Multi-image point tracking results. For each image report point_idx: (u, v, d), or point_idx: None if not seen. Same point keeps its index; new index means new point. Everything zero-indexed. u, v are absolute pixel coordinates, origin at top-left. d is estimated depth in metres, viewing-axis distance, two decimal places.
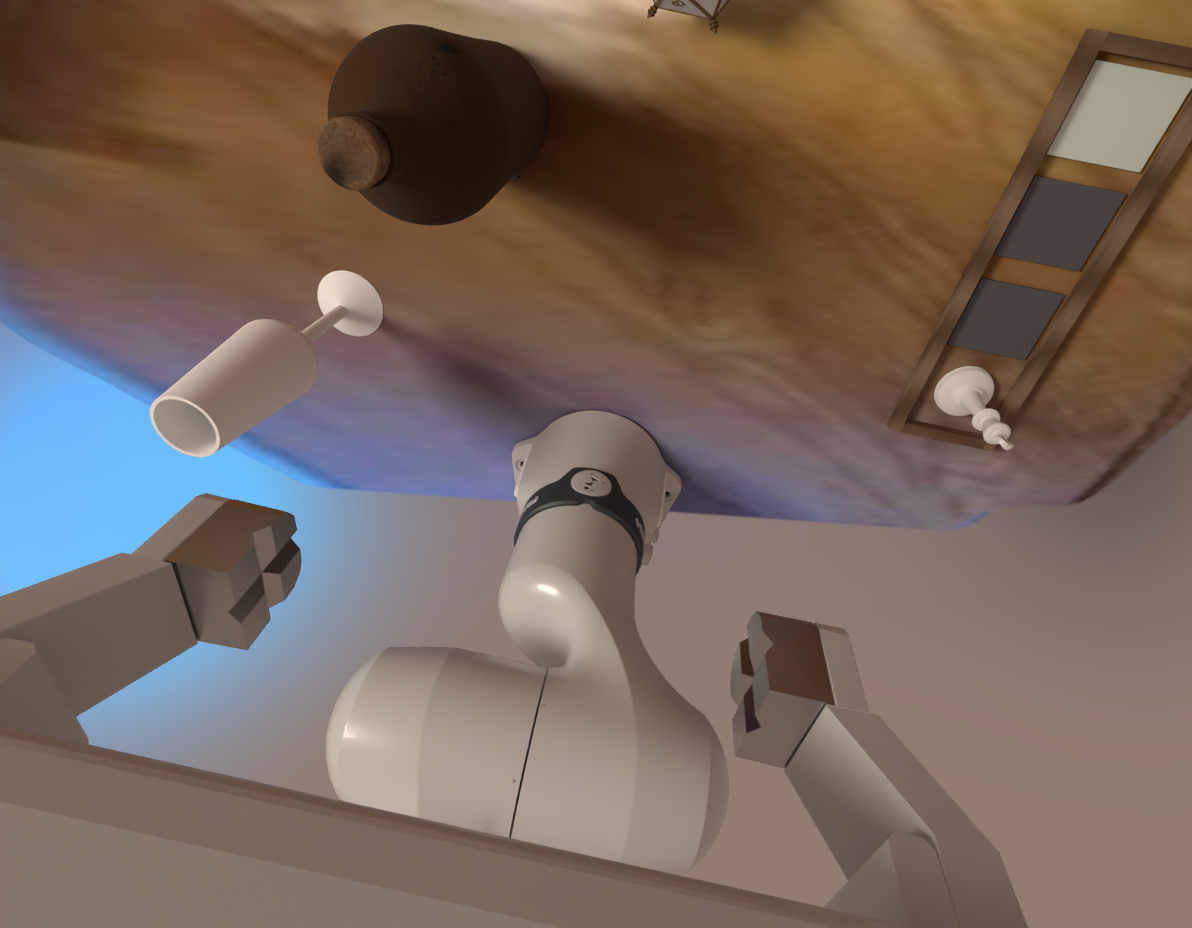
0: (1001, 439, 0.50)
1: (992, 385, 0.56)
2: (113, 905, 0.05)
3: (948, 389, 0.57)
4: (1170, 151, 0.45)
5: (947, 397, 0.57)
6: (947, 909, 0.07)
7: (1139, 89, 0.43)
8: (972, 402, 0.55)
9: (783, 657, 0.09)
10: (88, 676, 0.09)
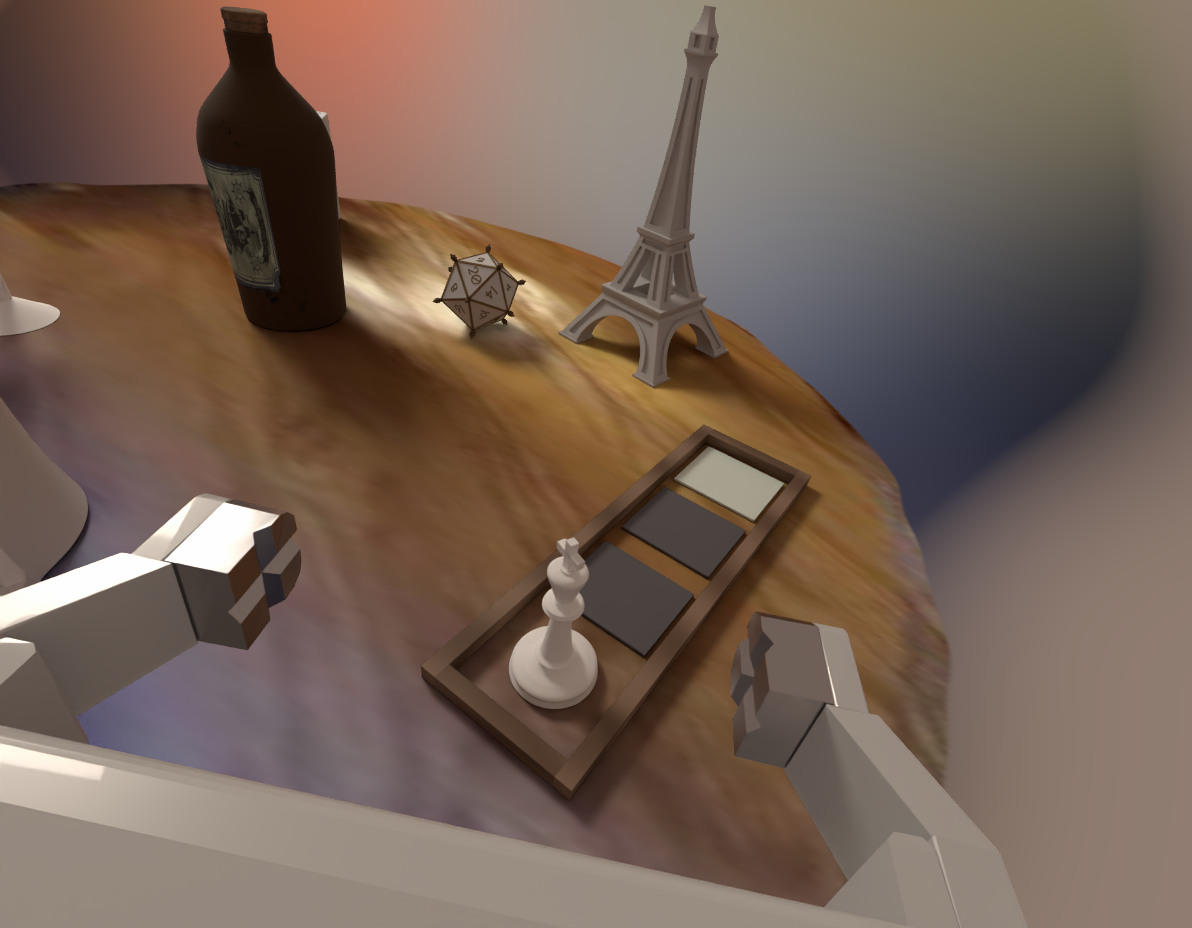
0: None
1: (594, 662, 0.34)
2: (113, 905, 0.05)
3: (532, 637, 0.35)
4: (774, 505, 0.47)
5: (527, 648, 0.34)
6: (947, 909, 0.07)
7: (742, 471, 0.51)
8: None
9: (783, 657, 0.09)
10: (88, 676, 0.09)
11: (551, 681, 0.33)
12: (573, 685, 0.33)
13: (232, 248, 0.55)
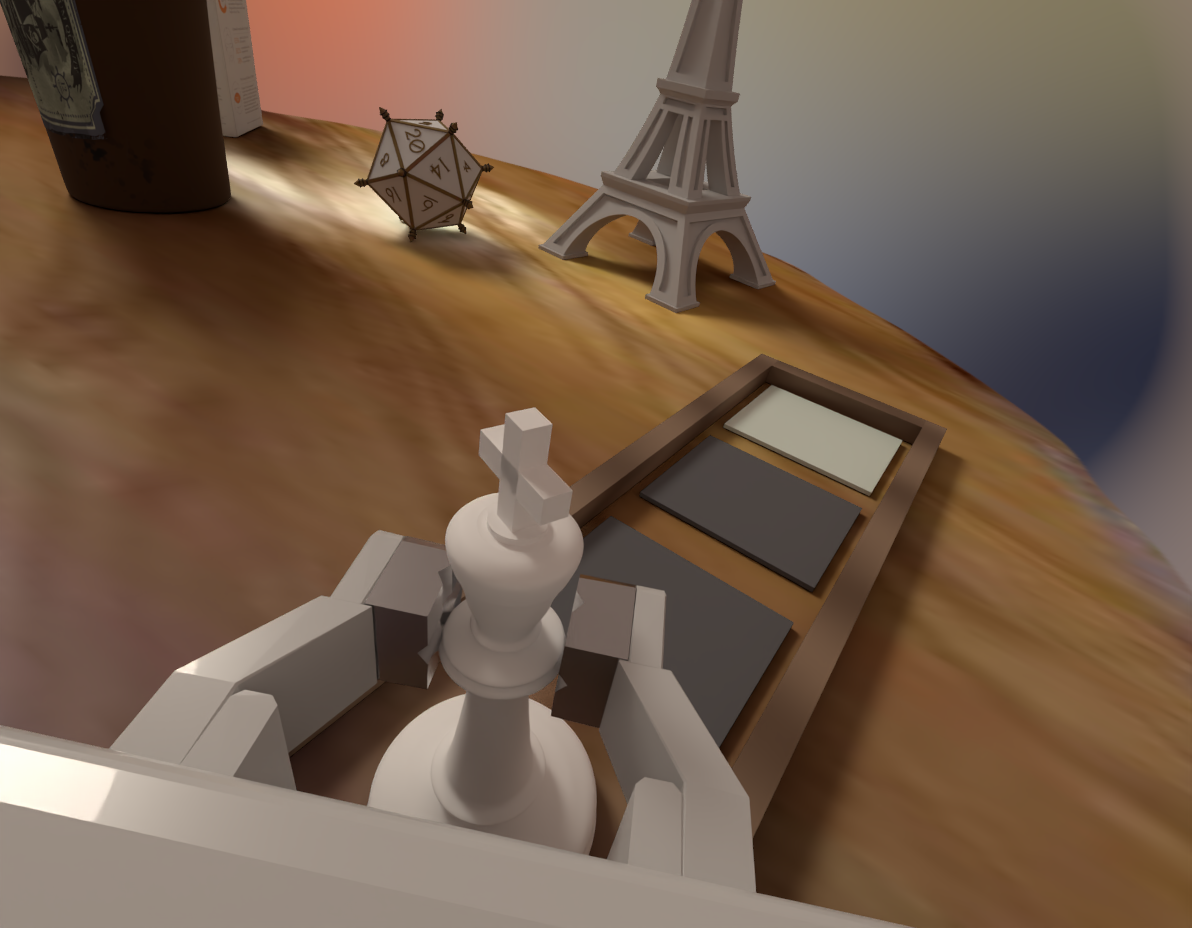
0: None
1: (589, 792, 0.13)
2: (113, 905, 0.05)
3: (434, 723, 0.14)
4: (904, 468, 0.27)
5: (416, 755, 0.13)
6: (675, 849, 0.07)
7: (832, 421, 0.31)
8: None
9: (589, 616, 0.09)
10: (293, 721, 0.09)
11: None
12: None
13: (26, 63, 0.35)
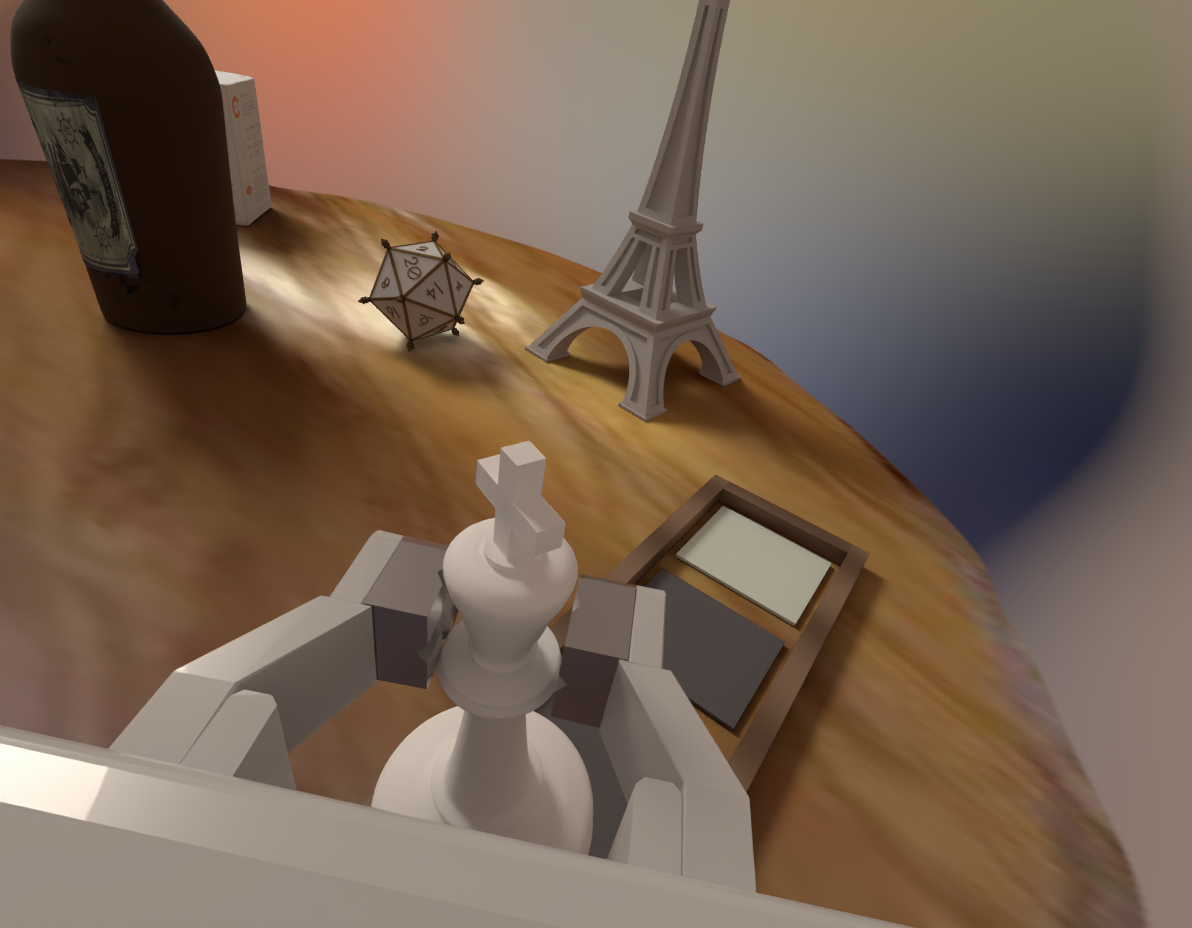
0: None
1: (586, 802, 0.14)
2: (113, 905, 0.05)
3: (435, 733, 0.14)
4: (824, 602, 0.31)
5: (417, 765, 0.13)
6: (675, 849, 0.07)
7: (772, 545, 0.36)
8: None
9: (589, 616, 0.09)
10: (293, 721, 0.09)
11: None
12: None
13: (70, 215, 0.40)
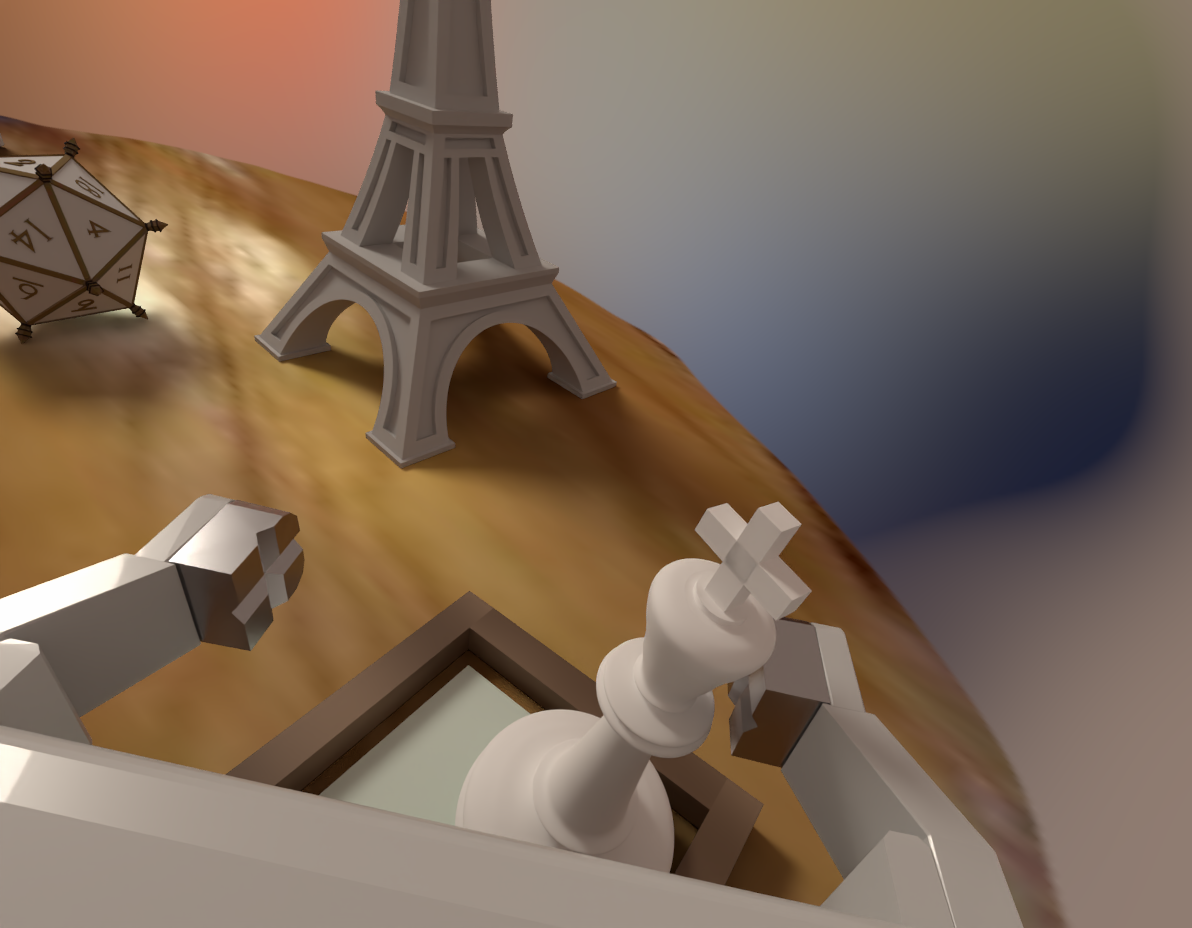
0: (743, 525, 0.09)
1: (668, 821, 0.14)
2: (113, 905, 0.05)
3: (523, 741, 0.14)
4: None
5: (509, 773, 0.13)
6: (942, 908, 0.07)
7: None
8: None
9: (780, 656, 0.09)
10: (92, 677, 0.09)
11: None
12: None
13: None
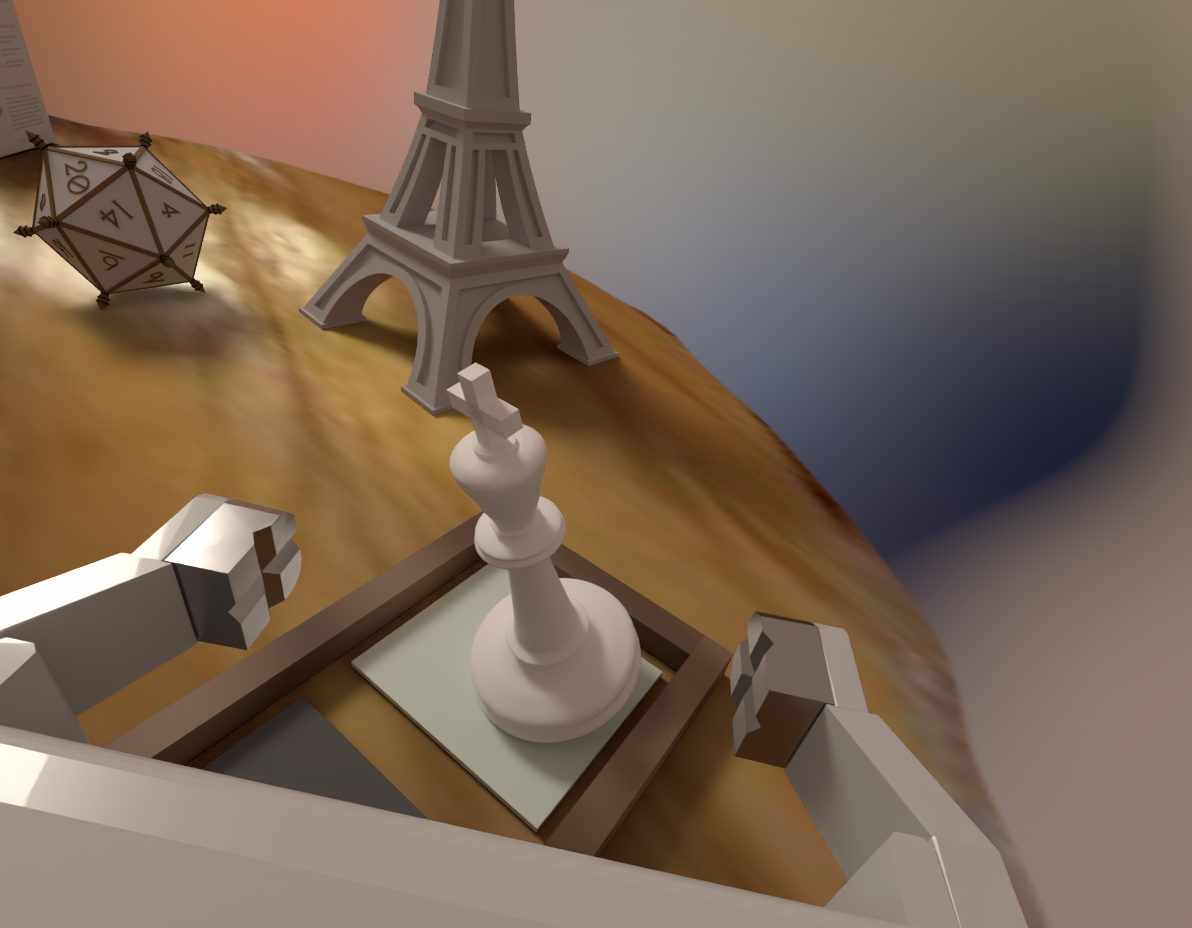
0: None
1: (627, 624, 0.18)
2: (113, 905, 0.05)
3: (500, 614, 0.18)
4: (604, 778, 0.15)
5: (494, 638, 0.18)
6: (947, 909, 0.07)
7: None
8: None
9: (783, 657, 0.09)
10: (88, 676, 0.09)
11: (553, 688, 0.16)
12: (599, 681, 0.16)
13: None
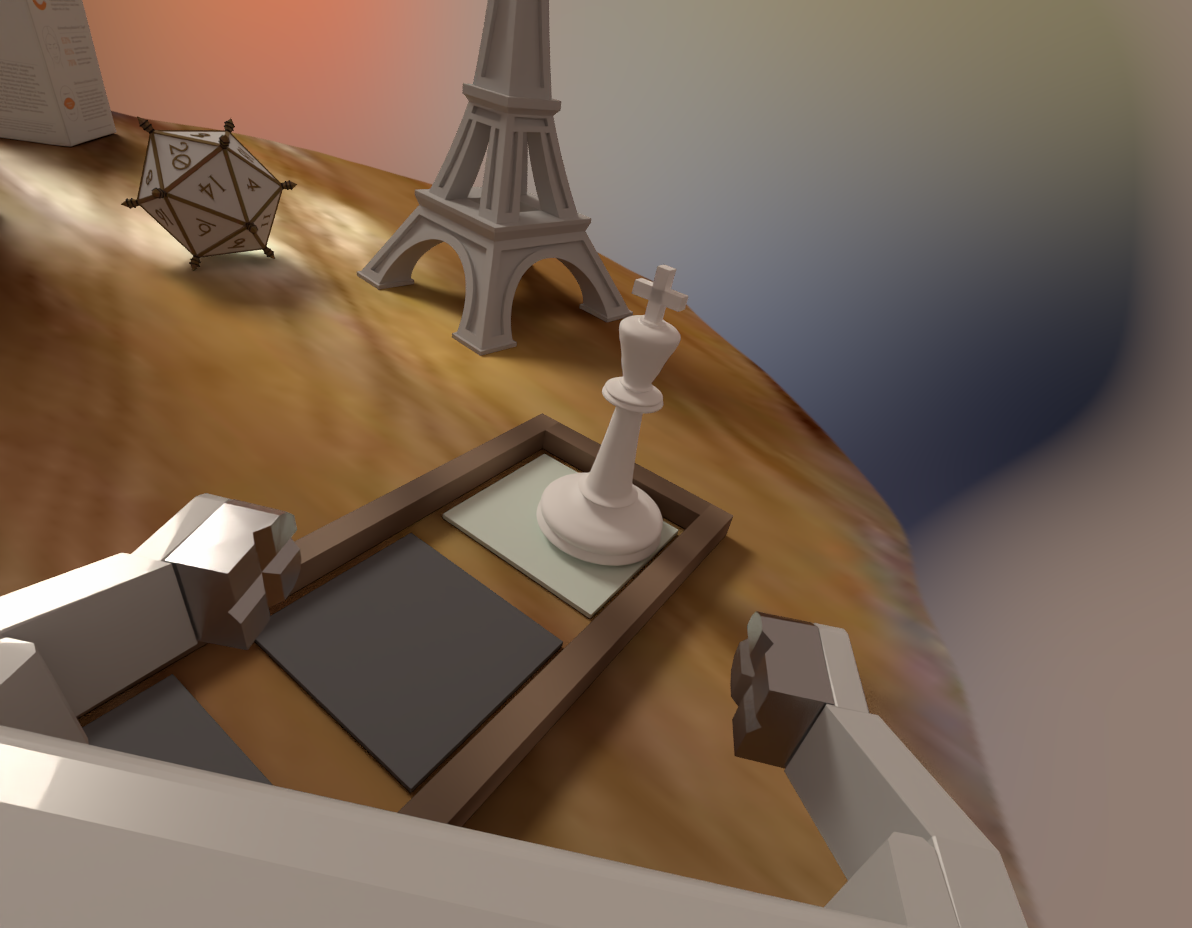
0: (652, 283, 0.19)
1: (653, 501, 0.25)
2: (113, 905, 0.05)
3: (561, 485, 0.24)
4: (638, 582, 0.21)
5: (562, 497, 0.23)
6: (947, 909, 0.07)
7: None
8: None
9: (783, 657, 0.09)
10: (88, 676, 0.09)
11: (617, 526, 0.22)
12: (646, 527, 0.23)
13: None
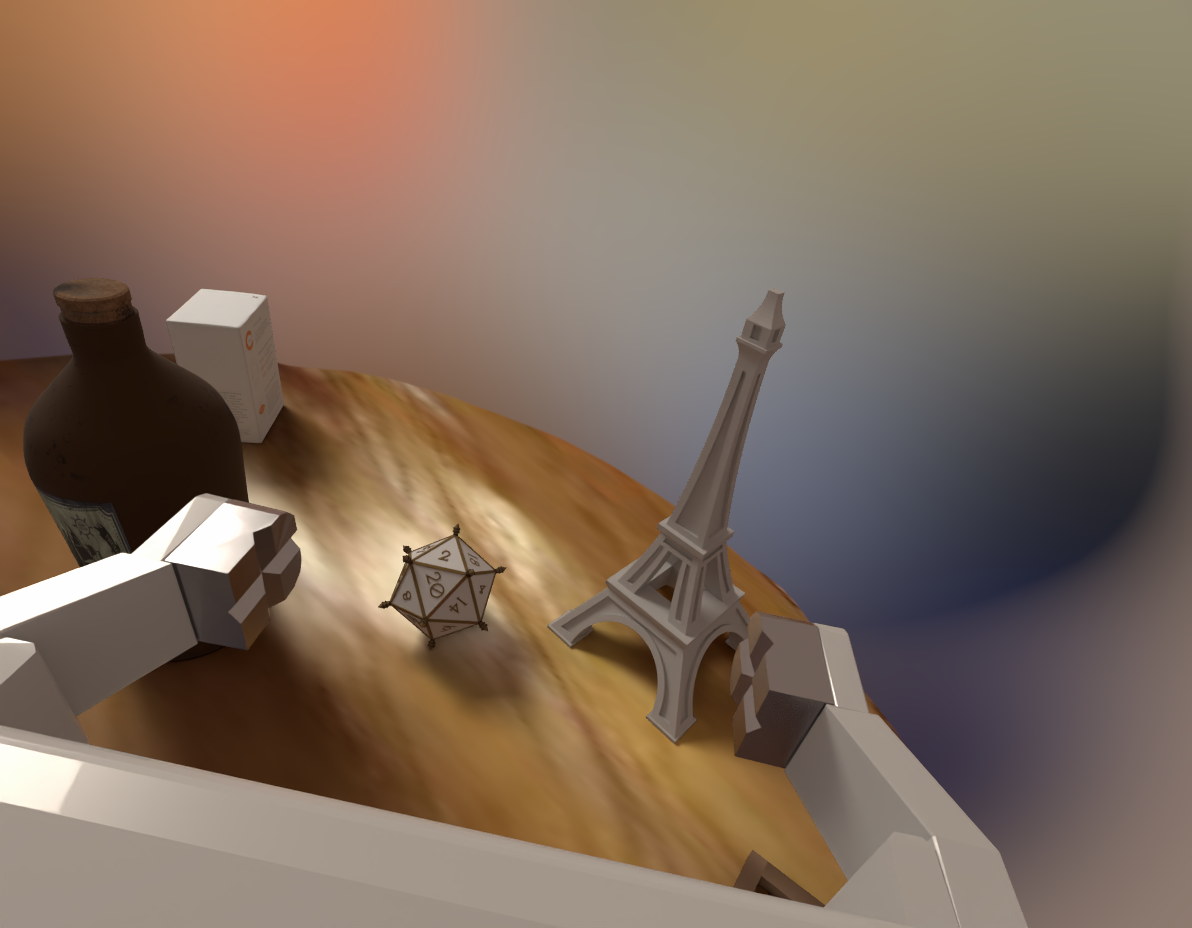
0: None
1: None
2: (113, 905, 0.05)
3: None
4: None
5: None
6: (947, 909, 0.07)
7: None
8: None
9: (783, 657, 0.09)
10: (88, 676, 0.09)
11: None
12: None
13: None
